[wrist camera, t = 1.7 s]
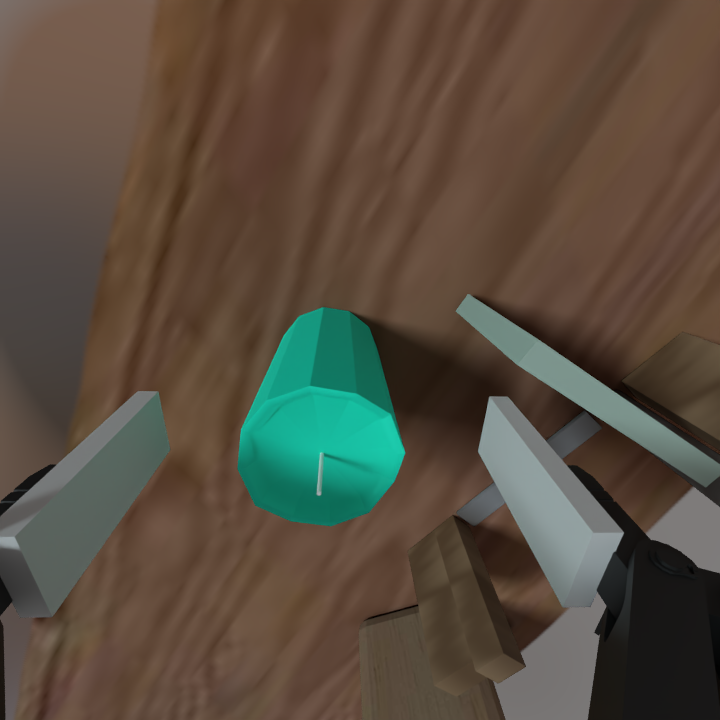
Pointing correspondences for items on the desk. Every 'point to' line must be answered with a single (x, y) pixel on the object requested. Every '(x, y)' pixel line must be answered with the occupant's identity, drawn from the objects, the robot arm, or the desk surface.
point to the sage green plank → (588, 391)
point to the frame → (454, 538)
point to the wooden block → (412, 676)
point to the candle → (321, 424)
